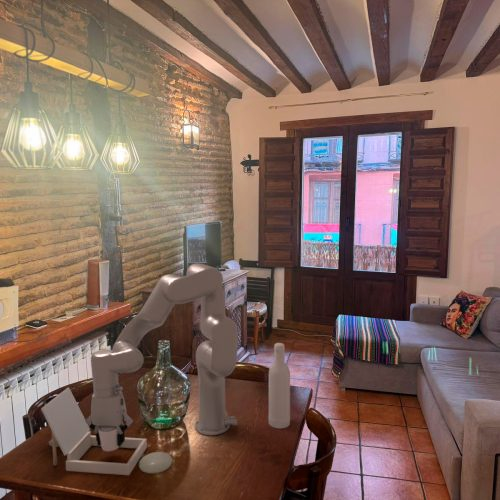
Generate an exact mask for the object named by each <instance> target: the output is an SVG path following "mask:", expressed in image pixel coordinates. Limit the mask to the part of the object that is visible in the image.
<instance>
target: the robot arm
mask: <svg viewBox="0 0 500 500" xmlns="http://www.w3.org/2000/svg"><path fill="white" fill-rule="evenodd" d="M223 278H224V277H223V274H222V272H221V271H220V270H219V269H218V268H216V267H214V266H210V265H207V264H204V263H197V262H196V263H192V264H190V265H189V266H188V268H187V269H186V274H185V275H184V276H179V275H177V274H171V273H169V274H165V275H162V276H161V278H160V279H159V280H158V281H157V283H156V285H155V286H154V288H153V289H152V290H151V291H152V292H151V293H150V294H149V296H148V297H147V300H146V301H145V303H144V305H143V306H142V308H141V310H140V311H139V312H138V313H137V314H136V315H135V316H134V317H133V318H132V319H131V320H130V321H129V322H128V323H127V324H126V325H125V326H124V328H122V330H121V332H120V333H119V336H118V337H117V338H116V340H115V342H114V344H113V345H112V349H100V350H97V351H95V352H93V353H92V354H91V356H90V367H91V379H92V387H93V394H92V395H91V402H90V403H91V404H90V415H89V416H87V418H85V422H86V423H87V424H88V426H89V428H90V430H91V431H93V433H94V434H95V436H96V441H97V444H98V445H101V441H100V436H99V431H98V428H99V427H100V426H115V427H116V428H117V431H118V434H117V440H118V446H121V445H122V443H123V442H124V441H125V438H126V437H125V431H126V430H127V429H128V428H129V427H130V426H131V425H132V423H133V422H134V420H133V418H131V417H130V416H129V415H128V413H127V407H126V401H125V398H124V395H123V392H122V391H123V389H124V387H123V386H120V383H119V376H118V375H119V374H123V373H125V374H126V373H133V372H136V371H138V370H140V369H141V367H142V366H143V364H144V359H145V358H144V355H143V354H142V352H141V351H140V349H138V348H137V347H138V345H140V342H141V341H142V339H143V338H144V336H145V335H147V333H148V332H149V333H150V331H152V330H154V329H156V328H159V327H161V326H163V324H164V323H165V322H166V320H167V318H168V316H169V315H170V313H171V312H172V309H173V308H174V306H175V305H181V304H182V305H183V304H186V303H190V302H193V301H196V300H198V299H200V321H199V322H200V325H199V327H200V333H201V334H202V335H203V336H204V337H205V338H207V339H208V340H204V341H202V342H201V343H200V344H199V345H198V347H197V348H196V351H195V363H196V369H197V378H198V386H197V387H198V419H197V420H196V422H195V423H194V429H195V431H196V432H197V433H199V434H201V435H206V436H216V435H221V434H224V433H225V432H227V431H228V430H230V428H231V426H232V425H233V426H238V419H236V416H234V415H233V416H232V415H231V416H229V415H228V411H226V377H228V376H229V375H232V373H233V372H234V370H235V368H236V366H237V360H238V346H239V345H238V344H239V343H238V341H239V332H238V327H237V325H236V322H235V321H234V320H233V319H231V318H230V317H229V316H227V315H226V296H225V291H224V287H223V281H224V279H223ZM123 421H125V424H124V422H123Z"/></svg>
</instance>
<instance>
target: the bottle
mask: <svg viewBox="0 0 500 500" xmlns="http://www.w3.org/2000/svg"><path fill="white" fill-rule="evenodd" d="M285 347H286V346H285V344H284V343H282V342H276V343H274V346H273V350H274V351H273V352H274V353H273V354H274V356H273V357H274V362H273V363H272V364H271V365H270V367H269V370H268V416H267V417H268V418H267V419H268V424H269V426H270V427H272V428H274V429H280V430H281V429H285V428H288V427H289V426H290V424H291V370H290V368H289V366H288V364H286V363H285V349H286V348H285Z"/></svg>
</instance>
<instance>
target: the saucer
mask: <svg viewBox="0 0 500 500" xmlns="http://www.w3.org/2000/svg"><path fill="white" fill-rule="evenodd" d="M138 463H139V464H138V467H139V469H140V471H141V472H144V473H146V474H160V473H162V472H165V471H166V470H168V469H170V467H171V466H172V464H173V458H172V456H171V454H168V453H167V452H164V451H156V452H155V451H154V452H151V453H148V454H146V455H144V456H143V457H142V458H140V459H139V461H138Z"/></svg>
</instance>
